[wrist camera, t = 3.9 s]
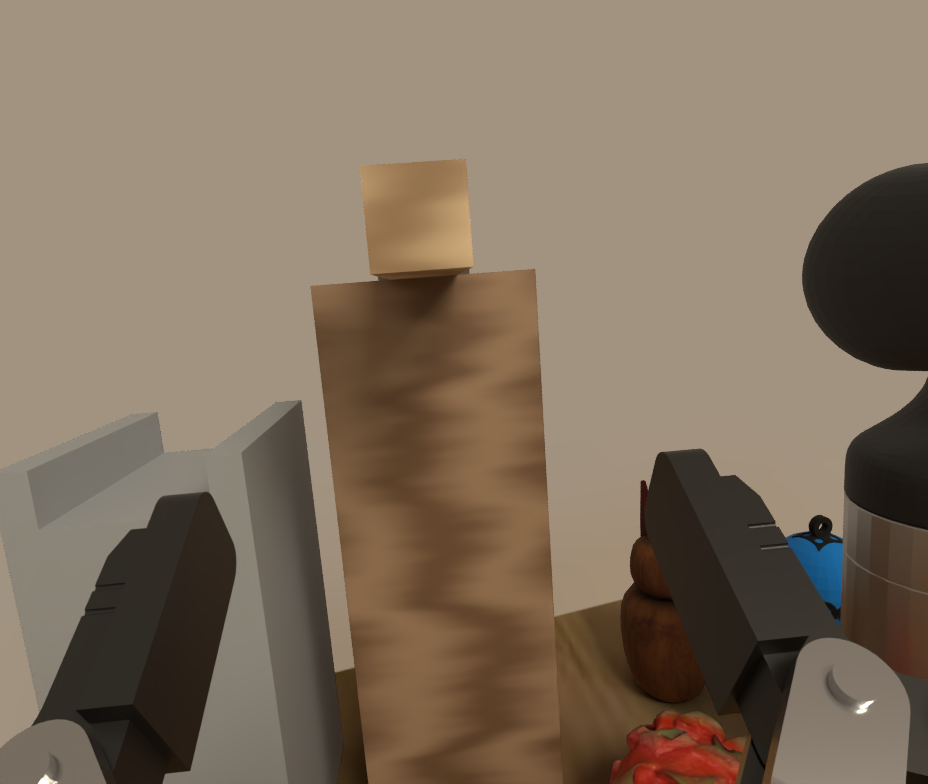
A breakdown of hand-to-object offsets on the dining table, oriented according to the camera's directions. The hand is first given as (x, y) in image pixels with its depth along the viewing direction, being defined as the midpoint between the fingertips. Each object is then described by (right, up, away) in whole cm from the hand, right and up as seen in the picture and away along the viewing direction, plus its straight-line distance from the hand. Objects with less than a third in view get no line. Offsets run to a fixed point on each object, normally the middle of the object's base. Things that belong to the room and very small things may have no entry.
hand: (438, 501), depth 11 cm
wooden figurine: (+15, -19, +33) cm, 41 cm away
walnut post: (+1, -22, +26) cm, 34 cm away
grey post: (-12, -23, +23) cm, 35 cm away
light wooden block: (-1, +7, +16) cm, 18 cm away
